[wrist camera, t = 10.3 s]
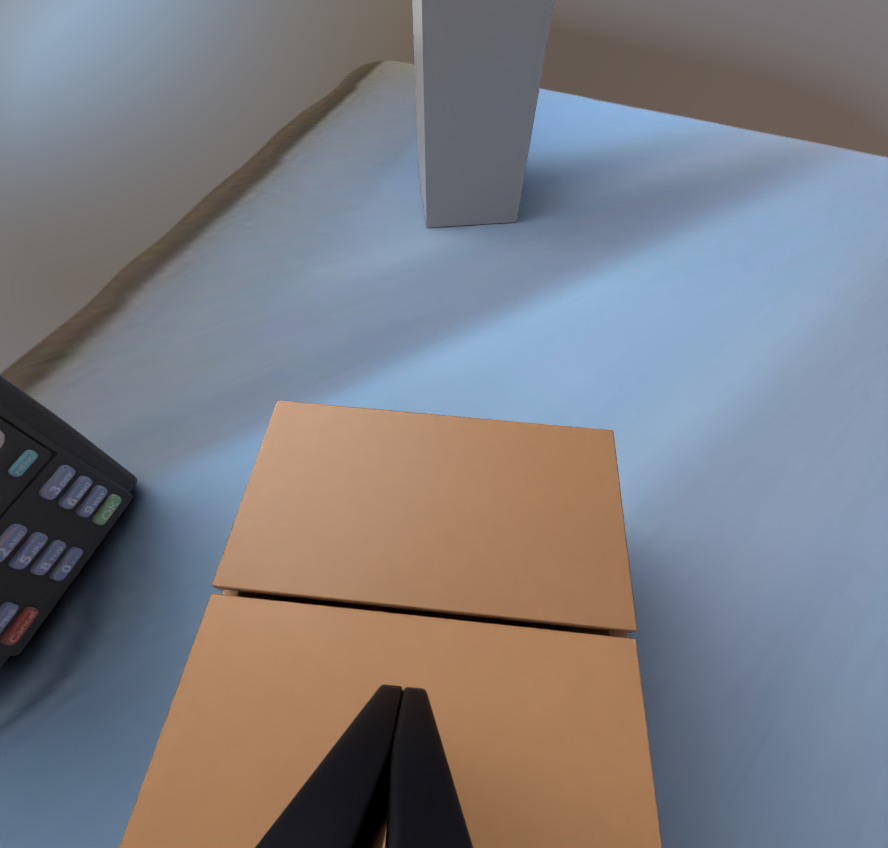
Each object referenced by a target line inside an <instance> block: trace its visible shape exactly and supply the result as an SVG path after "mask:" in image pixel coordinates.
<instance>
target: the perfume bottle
mask: <svg viewBox="0 0 888 848" xmlns="http://www.w3.org/2000/svg"><path fill="white" fill-rule="evenodd" d="M412 2H413V30H414V59H415V87H416V116H417V144H418V172H419V182H420V188H421V195H422V201H423V207H424V214H425V220H426V227H427V228H430V227H446V226H462V225H479V224H495V223H512V222H517V217H518V211H519V205H520V199H521V193H522V187H523V181H524V175H525V170H526V164H527V158H528V152H529V146H530V140H531V134H532V128H533V122H534V117H535V111H536V105H537V99H538V93H539V87H540V81H541V75H542V69H543V64H544V57H545V52H546V46H547V40H548V34H549V28H550V22H551V16H552V11H553V5H554V0H412Z"/></svg>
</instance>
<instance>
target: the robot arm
mask: <svg viewBox="0 0 888 848" xmlns="http://www.w3.org/2000/svg"><path fill="white" fill-rule="evenodd" d="M385 832H386V841H385V848H473V845H472V841H471V838H470V835H469V831H468V828H467V825H466V821H465V818H464V815H463V811H462V808H461V804H460V801H459V798H458V794H457V791H456V788H455V784H454V781H453V778H452V774H451V771H450V768H449V764H448V761H447V758H446V754H445V751H444V747H443V744H442V741H441V737H440V734H439V731H438V727H437V724H436V721H435V717H434V714H433V711H432V707H431V704H430V701H429V697H428V694H427V692H426V690H425V689H423V688H414V687H406V688H405V689H404V690H403V688H402V687H401V686H397V685H388V684H383V685H381V686H380V687H379V688H378V689H377V691H376V692H375V693H374V694H373V696H372V697H371V698H370V700H369V701H368V702H367V703H366V705H365V706H364V707H363V709H362V710H361V711H360V712H359V714H358V715H357V716H356V718H355V719H354V720H353V722H352V723H351V724H350V725H349V727H348V728H347V729H346V731H345V732H344V733H343V734H342V736H341V737H340V738H339V740H338V741H337V742H336V743H335V745H334V746H333V747H332V749H331V750H330V751H329V752H328V754H327V755H326V756H325V758H324V759H323V760H322V762H321V763H320V764H319V765H318V767H317V768H316V769H315V771H314V772H313V773H312V774H311V776H310V777H309V778H308V780H307V781H306V782H305V783H304V785H303V786H302V787H301V789H300V790H299V791H298V792H297V794H296V795H295V796H294V798H293V799H292V800H291V802H290V803H289V804H288V805H287V807H286V808H285V809H284V811H283V812H282V813H281V814H280V816H279V817H278V818H277V820H276V821H275V822H274V823H273V825H272V826H271V827H270V829H269V830H268V831H267V832H266V834H265V835H264V836H263V838H262V839H261V840H260V842H259V843H258V844H257V845H256V847H255V848H382V847H383V842H384V838H385Z"/></svg>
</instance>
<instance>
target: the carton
mask: <svg viewBox="0 0 888 848" xmlns="http://www.w3.org/2000/svg"><path fill="white" fill-rule="evenodd" d="M212 586H213V587H215V588H217V589H222V590H223V592H222V595H229V596H239V597H248V598H257V599H267V600H276V601H285V602H295V603H304V604H313V605H323V606H332V607H342V608H351V609H360V610H370V611H379V612H388V613H398V614H407V615H416V616H426V617H435V618H445V619H454V620H463V621H473V622H482V623H491V624H501V625H510V626H519V627H529V628H538V629H548V630H557V631H566V632H576V633H585V634H594V635H604V636H613V637H622V638H627V633H632V632H636V631H637V625H636V617H635V608H634V600H633V592H632V583H631V575H630V567H629V558H628V550H627V542H626V533H625V525H624V516H623V508H622V500H621V491H620V483H619V475H618V466H617V458H616V449H615V441H614V433H613V431H612V430H603V429H591V428H580V427H569V426H558V425H547V424H535V423H524V422H513V421H502V420H491V419H479V418H468V417H457V416H446V415H434V414H423V413H412V412H401V411H390V410H378V409H367V408H356V407H345V406H333V405H322V404H311V403H300V402H289V401H277V403H276V406H275V408H274V411H273V414H272V417H271V420H270V423H269V425H268V428H267V431H266V434H265V437H264V439H263V442H262V445H261V448H260V451H259V454H258V456H257V459H256V462H255V465H254V468H253V470H252V473H251V476H250V479H249V482H248V485H247V487H246V490H245V493H244V496H243V499H242V501H241V504H240V507H239V510H238V513H237V516H236V518H235V521H234V524H233V527H232V530H231V532H230V535H229V538H228V541H227V544H226V547H225V549H224V552H223V555H222V558H221V561H220V563H219V566H218V569H217V572H216V575H215V578H214V580H213V583H212Z"/></svg>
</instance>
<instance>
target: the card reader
mask: <svg viewBox="0 0 888 848" xmlns="http://www.w3.org/2000/svg"><path fill="white" fill-rule="evenodd" d="M136 483H137V479H136V477H135V476H134V475H133V474H131V473H130V472H129V471H128V470H126V469H125V468H124V467H122V466H121V465H120V464H119V463H117V462H116V461H115V460H114V459H112V458H111V457H110V456H108V455H107V454H106V453H105V452H103V451H102V450H101V449H99V448H98V447H97V446H96V445H94V444H93V443H92V442H90V441H89V440H88V439H87V438H85V437H84V436H83V435H81V434H80V433H79V432H78V431H76V430H75V429H74V428H72V427H71V426H70V425H69V424H67V423H66V422H65V421H63V420H62V419H61V418H59V417H58V416H57V415H55V414H54V413H52V412H51V411H50V410H48V409H47V408H46V407H44V406H43V405H42V404H40V403H39V402H37V401H36V400H35V399H33V398H32V397H31V396H29V395H28V394H26V393H25V392H24V391H22V390H21V389H20V388H18V387H17V386H16V385H14V384H13V383H11V382H10V381H9V380H7V379H6V378H5V377H3V376H2V375H0V668H1V667H2V666H3V664H4V663H5V662H6V660H7V659H8V658H9V656H15V655H18V654H20V653H21V652H22V650H23V649H24V648H25V646H26V645H27V644H28V642H29V641H30V639H31V638H32V637H33V635H34V634H35V633H36V631H37V630H38V628H39V627H40V626H41V624H42V623H43V622H44V620H45V619H46V617H47V616H48V615H49V613H50V612H51V611H52V609H53V608H54V606H55V605H56V604H57V602H58V601H59V599H60V598H61V597H62V595H63V594H64V593H65V591H66V590H67V588H68V587H69V586H70V584H71V583H72V582H73V580H74V579H75V577H76V576H77V575H78V573H79V572H80V571H81V569H82V568H83V566H84V565H85V564H86V562H87V561H88V560H89V558H90V557H91V555H92V554H93V553H94V551H95V550H96V549H97V547H98V546H99V544H100V543H101V542H102V540H103V539H104V538H105V536H106V535H107V533H108V532H109V531H110V529H111V528H112V526H113V525H114V524H115V522H116V521H117V520H118V518H119V517H120V515H121V514H122V513H123V511H124V510H125V509H126V507H127V506H128V504H129V503H130V502H131V500H132V499H133V495H132V494H131V493H130V492H131V490H132V489H133V488H134V486H135V485H136Z"/></svg>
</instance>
